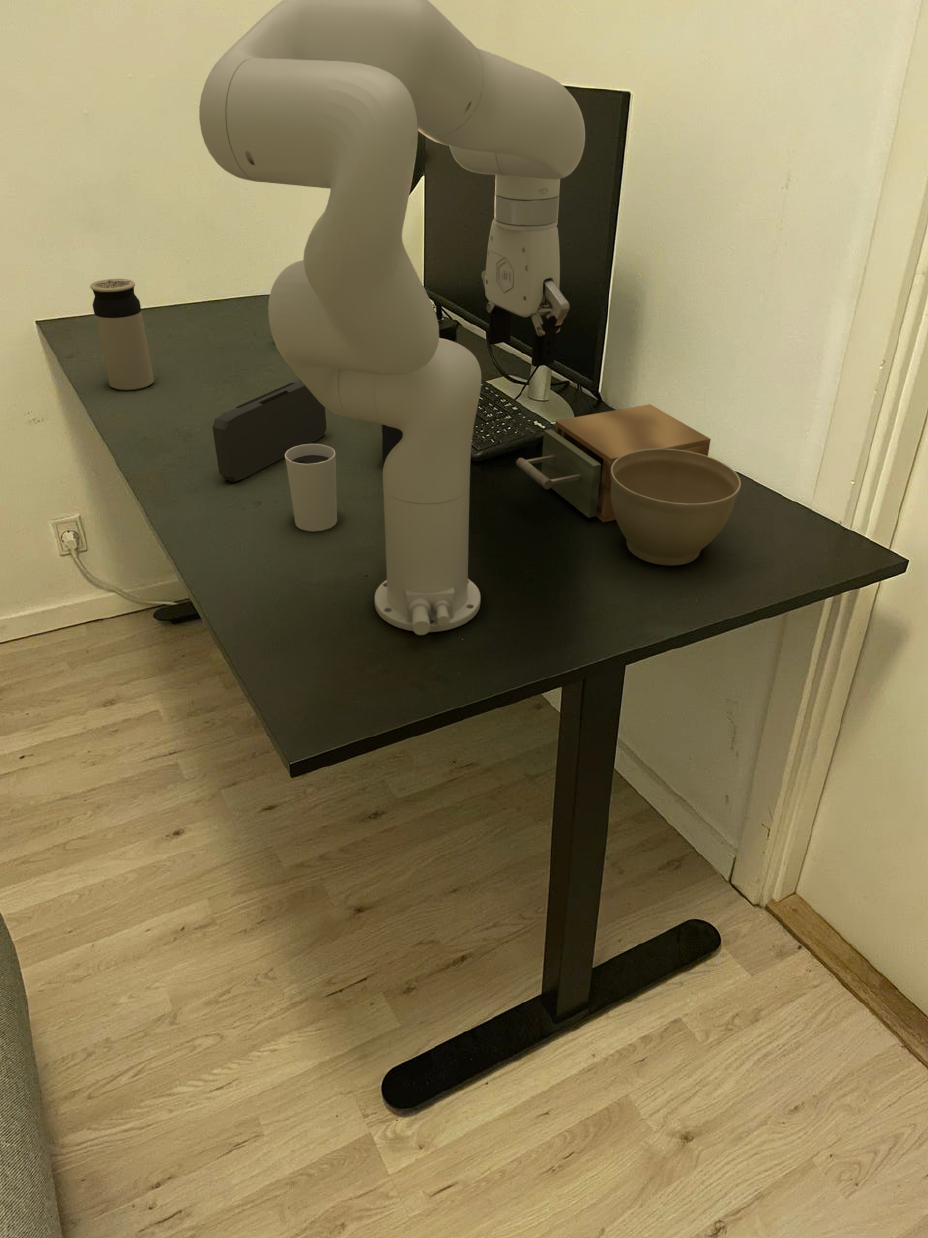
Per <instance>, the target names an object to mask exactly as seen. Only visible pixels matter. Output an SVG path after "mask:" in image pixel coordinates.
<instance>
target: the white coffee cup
mask: <svg viewBox="0 0 928 1238" xmlns="http://www.w3.org/2000/svg"><path fill="white" fill-rule="evenodd" d="M284 459H285V460H284V461H285V465H286V472H287V478H288V485H289V491H290V497H291V505H292V510H293V517H294V524H295V526H296V527H297V528H298V529H299V530H302V531H305V532H323V531H325V530H328V529H331V528H333V527H334V526H336V524H337V522H338V500H337V499H338V494H337V493H338V492H337V455H336V451H335V449H334V448H333V447H332V446H329V445H325V444H321V443H311V444H304V445H299V446H295V447H293V448H291V449H289V450H287V452H286V453H285V457H284Z"/></svg>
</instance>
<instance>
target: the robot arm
mask: <svg viewBox="0 0 928 1238" xmlns="http://www.w3.org/2000/svg"><path fill="white" fill-rule="evenodd" d="M198 109H199V111H198V112H199V113H198V115H199V116H198V117H199V126H200V133H201V136H202V139H203V143H204V145H205V147H206V149H207V151H208V153H209V154H210V156H211V157H212V158H213V160H214V161H215V163H216V164H217V165H218V166H219V167H220V168H222V169H223V170H224V171H225V172H227V173H229V174H230V175H232V176H234V177H236V178H238V179H242V180H246V181H251V182H256V183H267V184H278V185H288V186H289V185H290V186H299V187H308V188H319V189H330V190H329V196H328V199H327V204H326V206H325V208H324V211H323V212H322V214H321V215H320V216H319V218H318V219H317V221H316V222H315V223H314V225H313V226H312V229H311V231H310V233H309V235H308V237H307V239H306V240H307V241H306V244H305V247H304V249H303V258H302V259H301V260H299V261H295V262H293V263H291V264H289V265H288V266H286V267H285V268H284V269H283V270H281V272H280V273H279V274H278V275H277V277H276V279H274V282H273V283H272V286H271V289H270V293H269V297H268V304H267V305H268V306H267V308H268V310H267V312H268V313H267V314H268V323H269V324H268V325H269V330H270V334H271V337H272V339H273V342H274V345H275V347H276V349H277V351H278V353H279V354H280V356H281V357H282V359H283V360H284V361H285V363H286V364H287V365H288V366H289V367H290V369H291V370H292V371H293V372H294V374H295V375H296V376H297V377H298V379H299V380H301V381H302V382H303V383H304V384H305V386H306V387H307V388H308V389H309V390H310V392H311V393H312V394H313V395H314V396H315V398H316V399H317V400H318V401H319V402H320V403H321V404H322V405H323V406H324V407H325V410H328V411H329V412H331V413H333V414H334V415H336V416H340V417H343V418H346V419H352V420H355V421H356V420H357V421H361V422H368V423H371V424H372V423H373V424H378V425H381V426H382V425H386V426H389V427H394V428H397V429H400V430H401V431H402V433H403V437H402V439H401V440H400V442H399V443H398V444H397V445H396V446H395V447H394V448H393V449H392V450H391V451H390V453H389V454H388V456H387V458H386V460H385V463H384V466H382V467H383V468H382V494H383V515H384V516H383V517H384V519H383V520H384V543H385V545H384V546H385V567H386V568H385V569H386V579H385V580H384V581H383V582H382V583H380V584H379V585H378V587H377V588H376V590H375V592H374V608H375V611H376V612H377V614H378V616H379V617H380V618H381V619H382V620H384V621H385V622H386V623H388V624H390V625H392V626H394V627H396V628H397V629H401V630H405V631H409V632H414V634H415V635H418V636H425V635H427V634H428V633H438V632H439V633H440V632H444V631H449V630H452V629H455V628H458V627H461V626H463V625H466V624H467V623H468V622H469V621H471V620H473V619H474V618H475V616H476V615H477V614H478V612H479V610H480V608H481V603H482V602H481V601H482V600H481V592H480V589H479V587H478V586H477V585H476V584H475V583H474V582H473V581H472V580H470V579H469V539H470V538H469V537H470V536H469V535H470V533H469V532H470V526H469V525H470V487H471V486H470V485H471V459H472V458H471V457H472V443H473V435H474V428H475V423H476V417H477V412H478V407H479V401H480V397H481V390H482V371H481V369H482V368H481V366H480V363H479V361H478V359H477V357H476V355H474V353H473V352H472V351H470V350H469V349H468V348H466V347H465V346H463V345H462V344H459V343H458V342H456V341H453V340H449V339H446V338H441V337H440V328H439V327H440V326H439V321H438V317H437V313H436V311H435V308H434V306H433V303H432V301H431V299H430V297H429V294H428V293H427V291H426V289H425V287H424V284H423V282H422V280H421V279H420V276H419V274H418V272H417V270H416V268H415V266H414V264H413V262H412V260H411V257H410V256H409V254H408V251H407V249H406V246H405V243H404V240H403V233H404V232H403V230H404V225H405V219H406V215H407V214H406V213H407V208H408V202H409V198H410V192H411V188H412V182H413V177H414V170H415V164H416V158H417V152H418V151H417V150H418V141H419V140H418V138H419V133H420V134H421V135H423V136H425V137H426V138H428V139H429V140H431V141H433V142H435V143H439V144H441V145H445V146H449V149H450V150H449V151H450V153H451V155H452V157H453V159H454V161H455V162H456V163H457V164H458V165H459V166H460V167H461V168H463V169H465V170H467V171H469V172H471V173H476V174H482V175H493V176H495V180H494V183H495V184H494V185H495V187H494V218H493V219H492V222H491V226H490V231H489V237H488V242H487V251H486V252H487V253H486V263H485V269H484V270H483V271H482V272H481V275H480V276H481V280H482V283H483V284H482V285H483V288H484V289H483V294H484V297H485V300H486V302H487V303H486V311H487V312H488V344H490V345H499V344H503V343H507V342H510V341H511V339H512V316H513V315H512V314H514V315H517V316H519V317H522V318H528V317H530V318H531V321H532V324H533V327H534V330H535V333H534V334H532V345H531V346H532V347H531V366H533V367H534V368H538V367H543V366H547V365H551V364H553V363H555V360H556V346H557V345H556V344H557V343H556V342H557V334H558V333H560V331H561V327H562V326H563V325H564V324H565V322H566V321H565V320H566V317H567V315H568V312H569V311H570V303H569V301H568V300H567V299H566V297H565V295H563V293H562V292H561V290H560V281H561V280H560V279H561V258H560V238H559V237H560V236H559V229H558V227H557V226H558V222H559V221H558V219H559V205H560V204H559V203H560V187H561V186H560V185H561V179H565V178H566V177H568V176H570V175H571V174H572V173H573V172H574V171H575V170H576V168H577V167H578V165H579V163H580V161H581V160H582V157H583V153H584V149H585V143H586V128H585V127H586V126H585V121H584V118H583V114H582V113H583V112H582V110H581V108H580V106H579V104H578V102H577V101H576V99H575V98H574V96H573V95H572V94H571V93H570V91H569V90H568V89H567V88H566V87H565V86H564V84H562V83H561V82H560V81H558V80H556V79H555V78H552V77H551V76H550V75H547V74H545V73H543V72H540V71H537V70H535V69H533V68H529V67H526V66H525V65H521V64H519V63H517V62H515V61H511V60H509V59H507V58H505V57H502V56H500V55H497V54H495V53H492V52H490V51H487V50H483V49H481V48H478V47H477V46H476V45H474V43H473V42H472V41H471V40H470V39H468V37H467V36H466V35H465V34H463V32H461V30H459V29H458V28H457V27H456V26H455V25H454V24H453V23H452V22H451V21H450V20H449V19H448V18H447V16H445V15H444V14H443V13H442V12H441V11H440V10H439V9H438V8H437V7H436V6H435V5H434V4H433V3H432V2H430V0H281V1H280V2H278V3H277V4H276V5H275V6H273V8H271V9H270V10H269V11H267V12H266V13H265V14H264V15H263V16H262V17H261V18H260V19H259V20H258V21H256V23H255V24H254V25H253V26H251V28H250V29H248V31H246V32H245V33H244V35H242V36H241V37H240V38H239V39H238V40H237V41H236V42H235V43H234V44H233V45H232V46H231V47H230V48H229V49H228V50H227V51H226V52H224V54H223V55H222V56H221V57H220V58H219V59H218V60H217V62H216V63H215V64H214V65H213V67H212V68H211V70H210V72H209V74H208V75H207V78H206V79H205V82H204V86H203V88H202V92H201V95H200V100H199V108H198ZM542 316H545V317H546V320H545V321H543V319H542Z"/></svg>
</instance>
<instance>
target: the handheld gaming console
mask: <svg viewBox="0 0 928 1238" xmlns="http://www.w3.org/2000/svg"><path fill="white" fill-rule="evenodd" d="M327 428H328V427H327V415H326V408H325V407H324V406H323V405H322V404H321V403H320V402H319V401H318V400H317V399H316V398H315V396H314V395H313V394H312V393H311V392H310V390H309V389H308V388H307V387H306V386H305V384H304V383H303V382H302V381H301V380H300V379H298V380H296V381H293V382H290V383H289V382H288V383H287V384H285V385H283V386H281V387H278V388H276V389H274V390H271V391H268V392H267V393H264V394H262V395H260V396H258V397H255V398H254V399H251V400H248V401H246V402H244V403H242V404H239V405H237V406H235V408H232V409H230V410H228V411H226V412H223V413H222V414H219V416H217V417H215V419H214V421H213V424H212V434H213V440H214V441H213V442H214V447H215V454H216V459H217V460H216V461H217V467H218V473H219V475H220V476H221V477H222V478H223V479H224V480H226V481H229V482H232V483H234V482H238V481H241V480H244V479H246V478H248V477H250V476H252V475H253V474H256V473H258V472H260V471H261V470H264V468H267V467H269V466H270V465H273V464H274V463H277V462H278V461H280V460H282V459H285V453H286V452H287V450H289V449H291V448H293V447H295V446H299V445H304V444H313V443H314V442H316V441H318V440H320V439H321V438H322V437H324V436H325V434H326V431H327Z"/></svg>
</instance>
